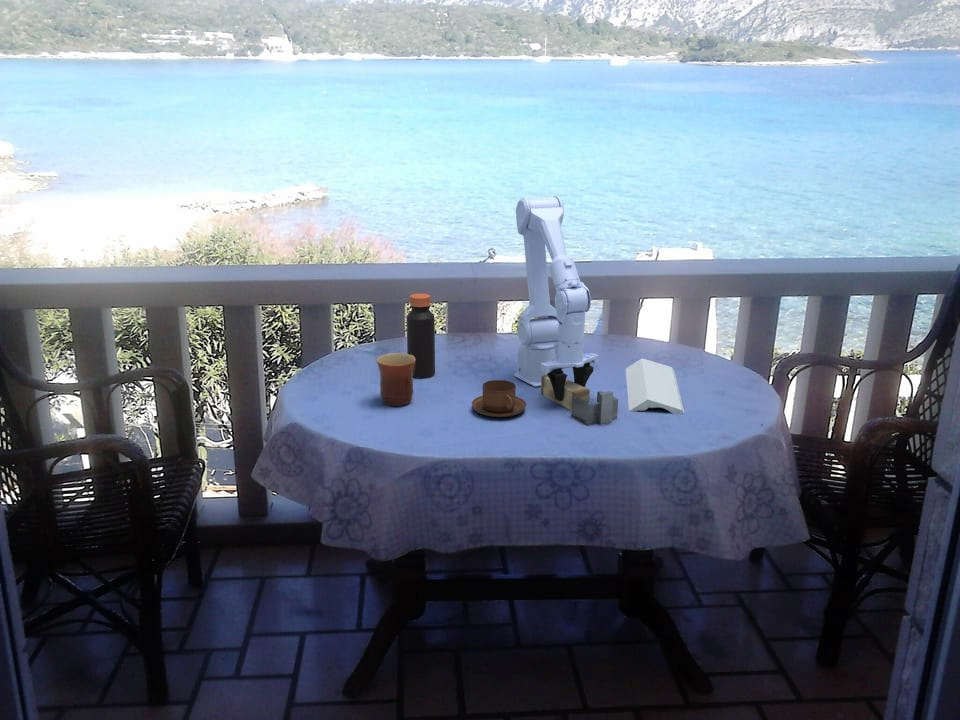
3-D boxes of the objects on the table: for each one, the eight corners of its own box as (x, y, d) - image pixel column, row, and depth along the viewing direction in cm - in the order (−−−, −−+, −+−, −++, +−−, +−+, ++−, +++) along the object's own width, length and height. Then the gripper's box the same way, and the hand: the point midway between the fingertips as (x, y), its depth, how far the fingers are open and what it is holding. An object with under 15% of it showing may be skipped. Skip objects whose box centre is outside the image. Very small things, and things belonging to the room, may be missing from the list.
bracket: (571, 416, 194) (572, 386, 192) (600, 409, 198) (601, 380, 196) (591, 427, 188) (592, 397, 186) (620, 420, 192) (622, 390, 190)
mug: (403, 411, 196) (402, 367, 193) (370, 404, 200) (368, 361, 196) (430, 394, 206) (429, 352, 203) (397, 388, 210) (396, 347, 207)
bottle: (436, 369, 222) (435, 292, 216) (434, 379, 216) (433, 299, 210) (409, 369, 223) (407, 292, 216) (406, 378, 216) (404, 299, 210)
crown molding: (684, 416, 196) (685, 401, 195) (628, 413, 197) (629, 398, 196) (673, 373, 223) (674, 359, 222) (624, 371, 225) (625, 357, 224)
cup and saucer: (536, 411, 197) (537, 385, 195) (499, 426, 189) (500, 399, 187) (497, 397, 205) (498, 372, 203) (460, 411, 197) (460, 385, 195)
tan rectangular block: (540, 394, 207) (541, 375, 205) (555, 391, 209) (555, 372, 207) (574, 412, 196) (575, 392, 195) (588, 408, 198) (589, 389, 197)
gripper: (554, 350, 190) (552, 409, 194) (608, 340, 197) (604, 397, 201) (536, 341, 196) (534, 398, 200) (588, 332, 203) (585, 387, 207)
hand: (568, 397), depth 201 cm, fingers open, 5 cm apart
